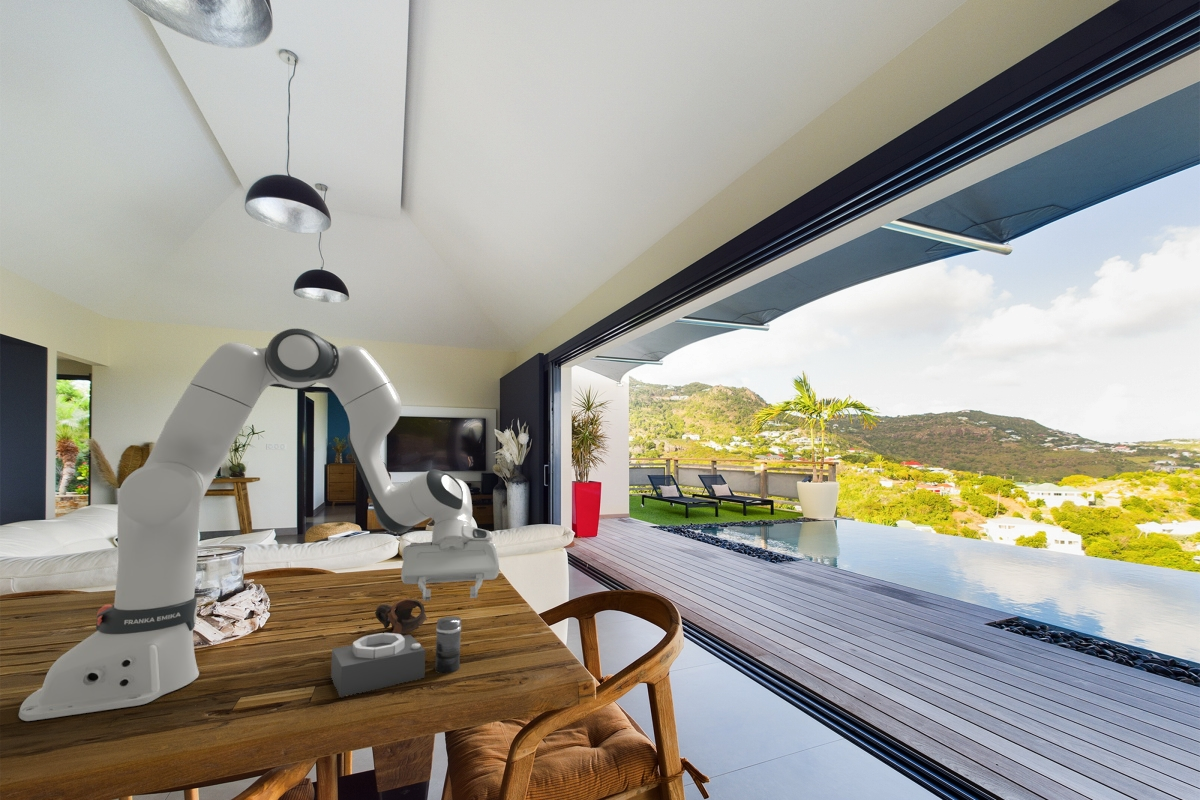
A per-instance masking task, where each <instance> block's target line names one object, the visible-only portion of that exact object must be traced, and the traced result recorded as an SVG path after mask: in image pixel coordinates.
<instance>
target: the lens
mask: <svg viewBox="0 0 1200 800" xmlns="http://www.w3.org/2000/svg"><path fill="white" fill-rule="evenodd" d="M436 622H437V623H436V629H435V630H436V632H435V633H436V644H435V645H436V646H435V672H436V671H437V672H436V673H438V672H439V674H452V673H455V672H458V671H459V669H460V662H461V661H460V660H461V659H460V658H461V656H460V655H461V631H462V624H461V623H462V618H461V617H459V616H444V617H439V618H438V619H437V620H436Z"/></svg>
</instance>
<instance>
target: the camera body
mask: <svg viewBox="0 0 1200 800" xmlns="http://www.w3.org/2000/svg"><path fill="white" fill-rule="evenodd" d="M425 664H426V649H425V648H424V647H423V646H422V645H421V643H420V642H418V641H417V640H416V639H415V638H414V637H413V636H412V635H411V634H406V635H405V634H404V635H402V634H395V633H392V632H384V633H383V632H381V633H374V634H373V633H372V634H369V635H368V634H367V635H364V636H361V637H360V638H358V639H356V640H354V641H353V642H352V644H351V645H345V646H341V647H340V646H339V647H334V648H331V668H330V679H331V678H332V679H331V680H333V681H332V683H333V685H334V687H336V688H335V690H336V689H337V690H336V692H337V691H338V692H337V694H338V696H339V698H340V697H341V698H344V697H343V696H346V695H350V696H352V695H351V694H354V695H357V694H356V693H359V694H362V692H363V693H366V691H367V692H371V690H372V691H375V689H376V690H379V689H384V688H383V687H385V688H388V687H387V686H389V687H392V686H391V685H393V686H396V685H395V684H398V685H400V684H399V683H402V684H404V683H403V682H406V683H409V682H408V681H411V682H413V681H412V680H415V681H417V680H416V679H419V680H421V679H420V678H424V679H425V671H426V670H425V668H426V666H425ZM346 697H347V696H346Z"/></svg>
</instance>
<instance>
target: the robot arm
mask: <svg viewBox="0 0 1200 800" xmlns="http://www.w3.org/2000/svg"><path fill="white" fill-rule="evenodd" d="M317 383H319V384H322V385H325V386H326V387H328V388H329V389H330V390H331V391H332V392H333V393H334V395H335V396H336V397H337V398H338V401H339V402H340V404H341V406H343V409H344V411H345V412H346V415H347V418H348V421H349V431H348V434H347V442H348V447H349V450H350V453H351V455H352V457H353V460H354V462H355V464H356V467H357V470H358V473H359V474H360V477H361V479H362V481H363V483H364V485H365V488H366V490H367V493H368V495H369V497H370V499H371V503H372V508H373V511H374V514H375V517H376V521H377V522H378V524H379V526H381V528H383V529H384V530H386V531H388V532H390V533H395V534H403V533H406V532H407V531H409V530H411V529H412V528H414V527H415V526H417V525H418V524H420V523H422V522H424V521H427V520H429V519H430V518H431V519H432V520H433V522H434V524H433V528H432V533H431V534H432V535H431V541H430V542H429V541H426V542H425V541H424V542H411V543H410V544H408V545H406V546H404V547H403V549H402V552H401V553H402V554H401V558H402V560H403V561H402V566H401V575H400V577H401V578H400V579H401V581H402V582H403V583H404V584H405V585H413V584H414V585H418V589H419V591H420V592H421V594H422V601H423V602H426V601H428V602H430V601H431V595H432V593H431V590H432V589H431V588H427V587H426V585H427V584H430V583H431V584H432V583H433V584H435V583H437V584H438V583H452V582H453V583H454V582H467V581H469V582H470V581H475V585H474V586H470V590H469V592H470V593H469V594H470V595H469V596H470V599H472V598H473V599H475V598H478V594H479V592H478V591H479V590H480V588H481V587H482V585H483V581H487V580H496V579H497V577H498V576H499V573H500V561H499V560H500V559H499V553H498V550H497V547H496V545H495V543H493V534H492V533H493V532H492V531H489V530H486V529H482V528H478V527H474V526H472V523H471V522H472V518H473V504H472V503H473V502H472V495H471V491H470V488H469V486H468V485H467V483H466V482H465V481H463V480H461V479H460V478H456V477H453V476H452V475H451V474H448V473H447V472H445V471H443V470H440V469H435V468H432V469H429V470H427V471H425V472H423V473H421V474H419V475H418V476H416V477H413V478H412V479H410V480H408V481H406V482H405V483H403V484H400V485H398V486H395V485H394V484H393V482H392V480H391V478H390V475H389V473H388V470H387V469H386V466H385V463H384V462H383V458H382V456H381V446H382V443H383V441H384V439H385V438H386V437H387V435H388V434H389V433H390V432H391V430H392V429H393V428H395V426H396V424H397V423H398V421H399V419H400V416H401V414H402V413H401V412H402V404H403V403H402V401H401V397H400V395H399V393H398V390H396V387H395V386H394V384H393V382H392V381H391V380H390V378H389V376H388V375H387V374H386V372H385V370H383V368H382V366H381V365H380V364H379V363H378V361H376V359H375V358H374V357H373V355H371V354H370V352H369V351H367V349H366V348H364V347H362V346H360V345H346V346H343V347H340V348H338V347H337V346H336V345H335V344H334V343H331V342H330V341H328V340H326V339H324V338H322V337H321V336H320V335H318V334H316V333H314V332H312V331H310V330H307V329H304V328H289V329H284V330H283V331H280V332H279V333H277V334H276V335H275V336H273V337H272V339H270V341H269V343H268V345H267V347H263V348H261V347H260V348H259V347H254V346H251V345H249V344H246V343H242V342H228V343H224V344H222V345H220V346H219V347H218V348H217V349H216V350H215V351H214V352H213V353H212V354H211V355H210V356H209V358H208V359H207V360H206V361H205V362H204V363H203V365H201V366H200V368H199V370H197V372H196V374H195V375H194V377H193V379H192V380H191V381H190V383H189V384H188V386H187V388H186V389H185V390H184V392H183V394H182V395H181V397H180V399H179V401H178V402H177V403H176V405H175V407H174V408H173V410H172V411H171V414H170V415H169V417H168V418H167V420H166V422H165V423H164V426H163V428H162V431H161V432H160V434H159V437H158V438H157V440H156V443H155V445H154V446H153V448H152V450H151V452H150V453H149V456H148V458H147V459H146V461H145V462H144V464H143V466H141V467H138V468H137V469H136V470H134V471H132V472H131V473H130V474H129V475H128V476H127V477H125V479H124V480H123V482H122V484H121V485H120V488H119V491H118V495H117V496H118V497H117V498H118V500H117V555H118V560H117V572H116V573H117V574H116V583H115V592H114V593H115V594H114V602H113V603H114V604H113V605H112V604H105V605H102V606H101V608H99V609H98V611H97V614H96V615H97V617H96V623H95V630H96V631H95V632H93V633H92V634H91V635H89V636H88V637H86V638H84V640H82V641H81V642H79V643H78V644H77V645H75V646H73V647H72V648H71V649H69V650H68V651H67V652H65V653H63V654H61V656H60V657H58V659H57V660H55V661H54V663H53V664H52V665H51V666H50V668H49V670H48V671H47V673H46V676H45V678H44V681H43V683H42V687H41V688H39V689H37V690H35V691H34V692H33V693H31V694H30V695H28V697H26V699H24V701H23V702H22V704H21V705H20V707H19V711H18V718H19V719H21V720H22V721H25V722H30V721H32V722H33V721H37V720H45V719H46V720H47V719H54V718H60V717H66V716H72V715H73V716H74V715H81V714H86V713H87V714H88V713H94V712H102V711H108V710H114V709H115V710H116V709H121V708H129V707H136V706H141V705H145V704H149V703H150V702H153V701H154V700H156V699H158V698H160V697H162V696H164V695H166V694H169V693H172V692H174V691H176V690H179V689H181V688H184V687H185V686H187V685H189V684H191V683H193V682H194V681H195V680H197V679H198V677H199V675H200V671H199V668H198V664H197V661H196V655H195V645H194V629H195V626H196V624H197V615H198V600H197V599H198V597H197V596H196V595H195V592H196V591H195V590H196V581H197V580H196V579H197V566H198V553H199V522H200V520H199V519H200V503H201V501H202V500H203V499H204V497H205V495H206V493H207V492H208V489H209V488H210V485H211V484H212V483H213V481H214V479H215V477H216V475H217V473H218V471H219V469H221V466H222V465H223V462H224V460H225V459H226V457H227V455H228V454H229V452H230V450H231V447H232V446H233V444H234V443H235V440H236V439H237V437H238V435H239V434H240V432H241V430H242V428H243V427H244V424H245V423H246V422H247V419H248V418H249V417H250V414H251V413H252V411H253V409H254V407H255V405H256V404H257V402H258V400H259V398H260V397H261V395H262V394H263V393H264V392H265V390H266V389H267V388H268V387H274V388H275V387H276V388H281V389H288V390H304V389H308V388H310V387H312V386H314V385H316V384H317Z"/></svg>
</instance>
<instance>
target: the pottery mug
mask: <svg viewBox="0 0 1200 800" xmlns="http://www.w3.org/2000/svg"><path fill="white" fill-rule="evenodd" d="M417 607H418V608H419V609H420V613H419V614H418V615H417V616H415V615H414V614H412V612H413V609H416V608H417ZM374 614H375V617H376V619H377V621H379V622H380V623H381V624H382V625H383V627H384V629H385V630H386V629H388V628H389V627H390V625H391V629H393V630H392V632H391V633H395V634H401V635H402V636H404V635H405V634H406V635H407V634H408V633H411V632H414V631H416V630H417V629H419V628H420V626H422V625H423V624H424V622H426V621H428V617H427V615H426V610H425V605H424V604H423V602H421V601H419V600H417V599H413V598H403V599H400V600H398V601H396V602H394V604H392V606H391V605H388V604H380V605H378V607H377V608H376V609H375V612H374Z"/></svg>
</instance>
